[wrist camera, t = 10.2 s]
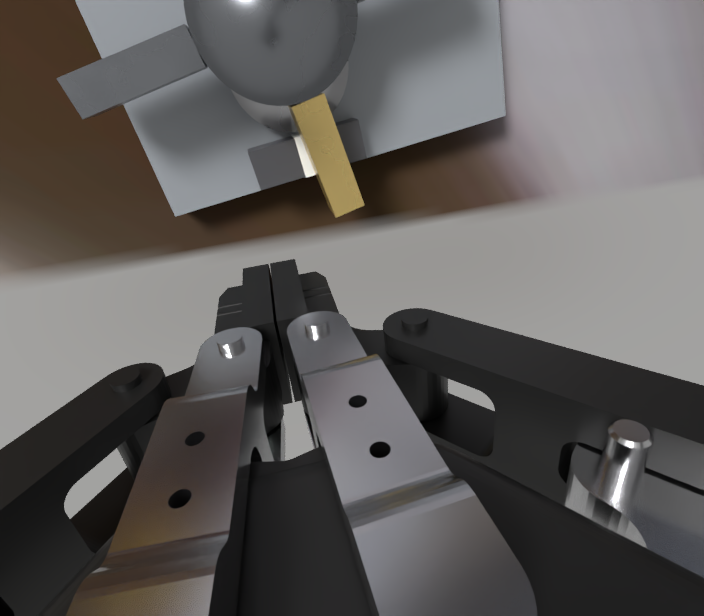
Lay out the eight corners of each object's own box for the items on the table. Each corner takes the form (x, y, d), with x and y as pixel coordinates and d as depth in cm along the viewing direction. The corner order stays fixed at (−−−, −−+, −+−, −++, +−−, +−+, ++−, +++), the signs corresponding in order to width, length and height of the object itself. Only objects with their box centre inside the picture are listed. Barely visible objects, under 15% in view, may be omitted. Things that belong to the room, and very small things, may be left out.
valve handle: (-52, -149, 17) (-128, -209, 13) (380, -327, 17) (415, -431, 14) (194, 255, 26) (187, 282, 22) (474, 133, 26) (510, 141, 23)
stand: (461, -229, 20) (499, -281, 17) (489, 113, 28) (519, 117, 25) (28, -125, 19) (-11, -164, 16) (179, 207, 26) (171, 223, 23)
